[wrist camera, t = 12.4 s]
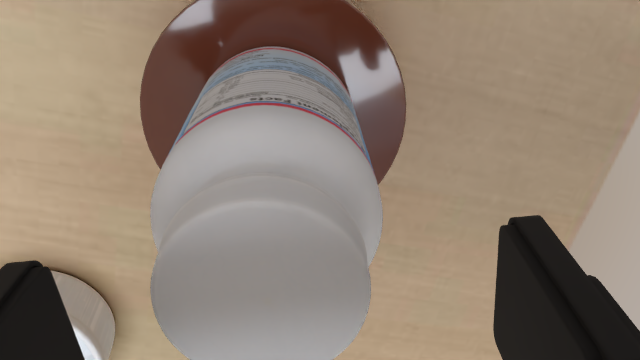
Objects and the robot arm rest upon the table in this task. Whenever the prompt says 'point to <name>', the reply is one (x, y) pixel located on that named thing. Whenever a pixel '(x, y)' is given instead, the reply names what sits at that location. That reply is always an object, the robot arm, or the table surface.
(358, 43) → the canister
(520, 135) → the table surface
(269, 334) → the pill bottle
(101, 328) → the ramekin
